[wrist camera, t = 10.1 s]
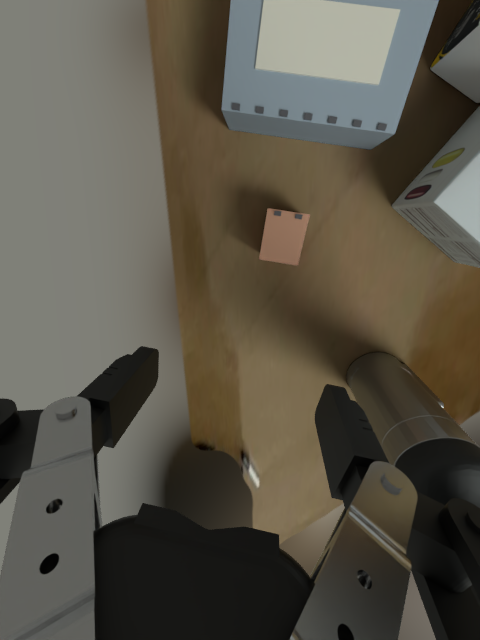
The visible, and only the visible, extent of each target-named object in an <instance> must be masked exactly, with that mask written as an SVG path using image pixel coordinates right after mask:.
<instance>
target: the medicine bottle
mask: <svg viewBox="0 0 480 640" xmlns="http://www.w3.org/2000/svg"><path fill="white" fill-rule="evenodd" d="M430 69H431V71H433V72H434V73H435V74H437V75H438V76H439V77H441V78H442V79H444V80H445V81H446V82H448V83H449V84H451V85H452V86H453V87H455V88H456V89H458V90H459V91H460V92H462V93H463V94H464V95H466V96H467V97H469V98H470V99H471V100H473V101H474V102H476V103H480V0H473V1H472V2H471V4H470V6H469V7H468V9H467V10H466V12H465V13H464V15H463V16H462V18H461V20H460V21H459V23H458V24H457V26H456V27H455V29H454V30H453V32H452V34H451V35H450V37H449V38H448V40H447V41H446V43H445V44H444V46H443V48H442V49H441V51H440V52H439V54H438V55H437V57H436V58H435V60H434V62H433V63H432V65H431V67H430Z"/></svg>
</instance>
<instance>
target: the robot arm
mask: <svg viewBox="0 0 480 640" xmlns="http://www.w3.org/2000/svg"><path fill="white" fill-rule="evenodd" d="M158 358H159V352H158V350H157V349H153V348H148V347H143V346H141V347H140V348H138V349H137V350H136V351H135V352H134V353H133V354H132V355H129V354H127V355H125V356H123V357H121V358H119V359H117V360H116V361H114V362H113V363H112V364H111V365H110V366H109V368H107V369H106V370H105V371H104V372H103V373H102V374H101V375H99V376H98V377H97V378H96V379H95V380H94V381H93V382H92V383H91V384H90V385H88V387H86V388H85V389H84V390H83V391H82V392H81V393H80V394H79V395H78V396H77V397H68V398H63V399H60V400H58V401H56V402H54V403H52V404H50V405H49V406H48V407H47V408H45V409H44V410H26V411H17V407H16V404H15V403H14V402H13V401H12V400H9V399H0V503H1V502H2V501H3V500H4V499H5V498H6V497H7V496H8V494H9V493H10V492H11V491H12V490H13V489H14V488H15V487H16V485H17V484H18V483H19V482H20V485H19V489H18V494H17V499H16V504H15V509H14V514H13V518H12V523H11V527H10V532H9V537H8V542H7V546H6V551H5V556H4V561H3V565H2V570H1V575H0V640H398V636H399V630H400V625H401V620H402V615H403V610H404V604H405V599H406V594H407V589H408V583H409V578H410V573H411V571H412V573H413V576H414V579H415V582H416V584H417V587H418V590H419V593H420V596H421V599H422V601H423V604H424V607H425V610H426V612H427V615H428V618H429V621H430V624H431V626H432V629H433V632H434V635H435V638H436V640H480V447H479V446H478V445H477V444H476V443H475V442H474V441H473V440H472V439H471V438H470V436H468V434H467V433H466V432H465V431H464V430H463V429H462V428H461V427H460V426H459V425H458V424H457V423H456V422H455V421H454V420H453V418H452V417H451V416H450V415H449V414H448V413H447V412H446V411H445V410H444V409H443V407H444V404H443V402H442V401H441V400H440V399H439V398H438V397H437V396H436V395H435V394H434V393H433V392H432V391H431V390H430V389H429V388H428V387H427V386H426V385H425V384H424V382H423V381H422V380H421V379H420V378H419V377H418V376H417V375H416V374H415V373H414V372H413V371H412V370H411V369H410V368H409V367H408V366H407V365H406V364H401V363H400V362H399V361H398V360H397V359H396V358H395V357H394V356H392V355H390V354H387V353H382V352H375V353H369V354H366V355H363V356H361V357H360V358H358V359H357V360H355V361H354V362H353V363H352V364H351V366H350V367H349V369H348V372H347V382H348V384H349V386H350V388H351V390H352V392H353V394H354V396H355V399H356V401H357V403H358V404H357V403H356V402H355V401H352V400H350V398H349V396H348V394H347V391H346V389H345V388H344V387H339V386H334V385H329V384H327V385H326V386H325V388H324V390H323V393H322V395H321V398H320V400H319V403H318V406H317V408H316V412H315V424H316V429H317V433H318V438H319V442H320V447H321V451H322V456H323V460H324V465H325V469H326V474H327V479H328V483H329V488H330V492H331V497H332V498H335V499H340V500H343V502H344V506H345V509H344V510H343V512H342V514H341V516H340V518H339V520H338V522H337V524H336V526H335V528H334V530H333V532H332V534H331V537H330V538H329V540H328V542H327V544H326V546H325V548H324V550H323V553H322V554H321V556H320V558H319V560H318V562H317V564H316V566H315V567H314V569H313V571H312V573H311V575H310V577H309V575H308V574H307V573H306V571H305V570H304V569H303V568H302V567H301V565H300V564H299V563H297V561H295V560H294V559H293V558H292V557H291V556H290V555H289V554H287V553H286V552H285V551H283V550H282V549H280V548H279V535H278V534H274V533H270V532H265V531H261V530H257V529H253V528H248V527H237V528H225V529H214V530H208V529H205V528H203V527H202V526H200V525H198V524H197V523H195V522H193V521H192V520H190V519H188V518H187V517H185V516H183V515H182V514H180V513H178V512H177V511H174V510H170V509H166V508H162V507H157V506H153V505H148V504H144V503H143V504H142V506H141V508H140V510H139V513H138V515H132V516H128V517H123V518H120V519H118V520H115V521H112V522H110V523H108V524H106V525H104V526H103V527H102V518H101V508H100V492H99V475H98V457H97V454H98V452H99V451H100V450H101V448H102V447H103V446H106V447H111V448H114V447H115V445H116V444H117V442H118V441H119V439H120V438H121V436H122V435H123V434H124V432H125V431H126V429H127V428H128V426H129V425H130V423H131V422H132V420H133V419H134V417H135V416H136V414H137V413H138V411H139V410H140V408H141V407H142V405H143V404H144V403H145V401H146V400H147V398H148V397H149V395H150V394H151V392H152V391H153V389H154V388H155V386H156V383H157V379H158Z"/></svg>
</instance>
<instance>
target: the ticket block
mask: <svg viewBox="0 0 480 640" xmlns="http://www.w3.org/2000/svg"><path fill="white" fill-rule="evenodd" d="M438 2H439V0H231V5H230V16H229V28H228V40H227V51H226V63H225V75H224V86H223V98H222V113H223V115H224V117H225V120H226V122H227V125H228V127H229V130H235V131H242V132H249V133H256V134H263V135H270V136H277V137H284V138H291V139H298V140H305V141H312V142H319V143H326V144H333V145H341V146H348V147H355V148H362V149H369V150H371V149H373V148H374V147H376V146H377V145H379V144H380V143H382V142H383V141H385V140H387V139H388V138H390V137H391V136H393V135H394V134H395V132H396V129H397V126H398V123H399V120H400V117H401V114H402V111H403V108H404V105H405V102H406V99H407V96H408V93H409V90H410V87H411V83H412V80H413V77H414V74H415V71H416V68H417V65H418V62H419V59H420V56H421V53H422V50H423V47H424V44H425V41H426V38H427V35H428V32H429V29H430V26H431V23H432V20H433V17H434V14H435V11H436V8H437V5H438Z"/></svg>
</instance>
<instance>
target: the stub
mask: <svg viewBox="0 0 480 640" xmlns="http://www.w3.org/2000/svg"><path fill="white" fill-rule="evenodd" d="M309 217H310V215H309V214H303V213H296V212H290V211H283V210H277V209H270V208H268V209H267V215H266V221H265V227H264V233H263V239H262V245H261V250H260V256H259V260H266V261H272V262H278V263H284V264H290V265H297V266H298V263H299V259H300V254H301V250H302V246H303V242H304V238H305V233H306V229H307V225H308V221H309Z"/></svg>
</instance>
